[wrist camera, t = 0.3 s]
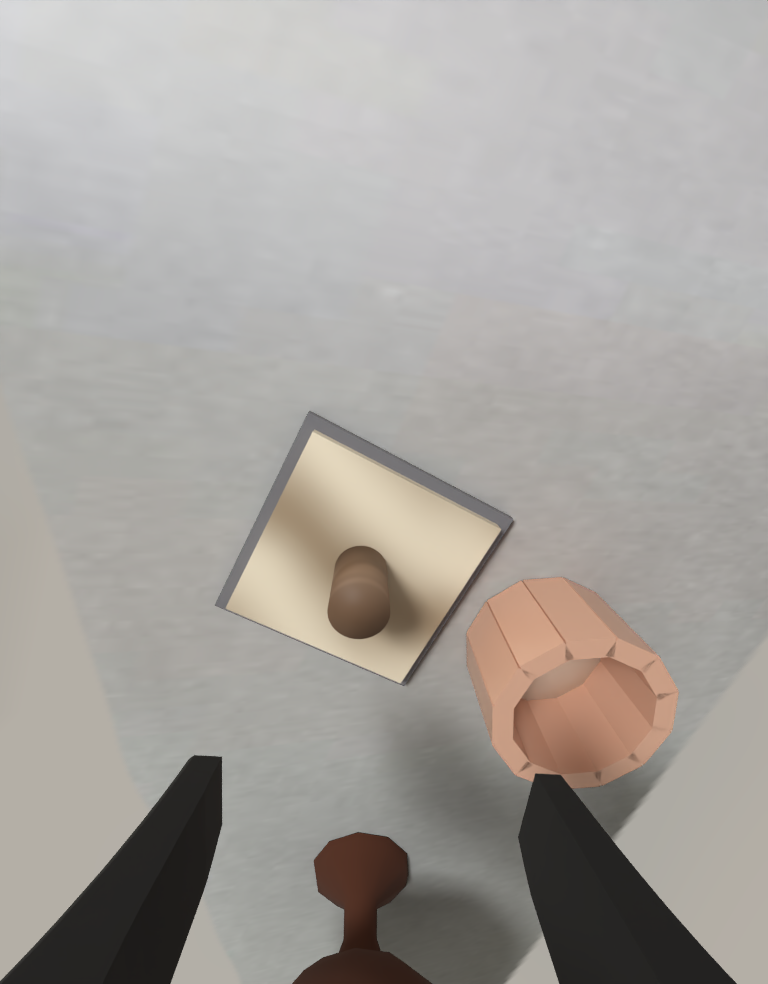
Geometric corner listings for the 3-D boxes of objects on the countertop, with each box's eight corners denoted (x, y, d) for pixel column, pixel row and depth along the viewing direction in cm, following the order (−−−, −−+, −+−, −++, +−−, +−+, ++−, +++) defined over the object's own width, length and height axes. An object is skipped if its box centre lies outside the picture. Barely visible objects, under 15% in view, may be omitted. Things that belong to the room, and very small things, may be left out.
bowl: (572, 550, 19) (630, 605, 15) (635, 658, 21) (703, 735, 17) (439, 628, 20) (458, 700, 16) (510, 725, 22) (544, 814, 18)
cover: (314, 429, 17) (299, 447, 13) (497, 524, 18) (528, 564, 15) (229, 601, 19) (196, 658, 15) (399, 674, 20) (406, 742, 17)
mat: (310, 411, 17) (308, 411, 17) (510, 516, 19) (513, 519, 18) (217, 600, 19) (214, 605, 19) (403, 680, 21) (403, 686, 20)
